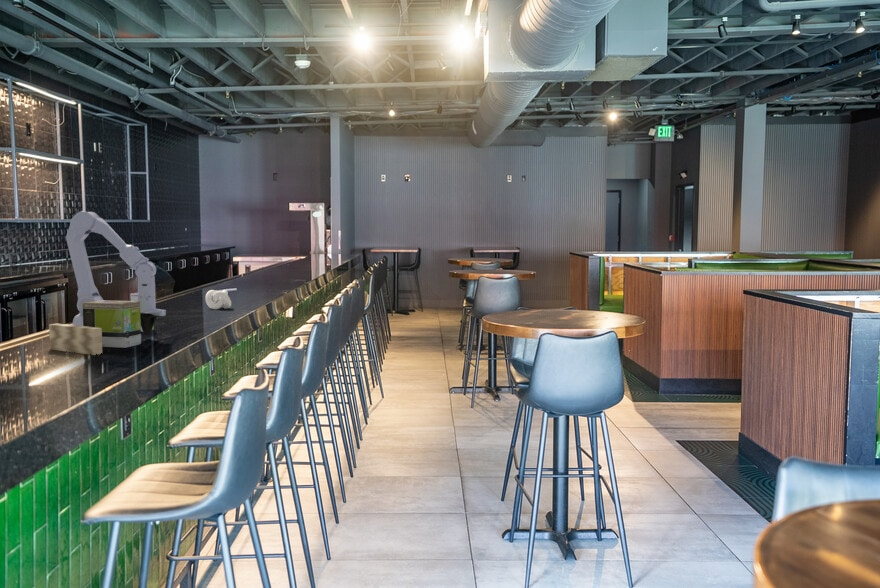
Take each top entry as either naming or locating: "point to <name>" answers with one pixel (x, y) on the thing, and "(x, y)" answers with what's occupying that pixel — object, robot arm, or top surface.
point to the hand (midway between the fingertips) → (147, 335)
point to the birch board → (75, 338)
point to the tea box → (114, 321)
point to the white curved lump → (218, 299)
